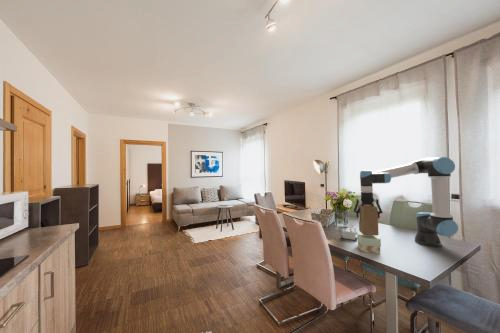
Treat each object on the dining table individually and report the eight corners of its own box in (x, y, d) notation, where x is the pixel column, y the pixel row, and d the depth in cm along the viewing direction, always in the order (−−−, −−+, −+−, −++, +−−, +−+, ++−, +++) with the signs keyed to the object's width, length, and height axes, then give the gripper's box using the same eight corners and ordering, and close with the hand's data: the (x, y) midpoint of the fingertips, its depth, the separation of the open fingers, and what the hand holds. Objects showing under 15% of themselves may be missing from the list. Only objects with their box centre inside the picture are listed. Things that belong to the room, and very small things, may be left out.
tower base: (376, 247, 150) (376, 240, 150) (380, 254, 138) (380, 246, 138) (358, 246, 154) (357, 239, 154) (360, 252, 143) (360, 245, 143)
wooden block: (379, 235, 140) (377, 207, 141) (363, 235, 142) (362, 206, 143) (373, 231, 150) (372, 204, 151) (358, 231, 152) (357, 204, 153)
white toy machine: (346, 222, 184) (361, 224, 176) (347, 233, 184) (361, 235, 176) (340, 227, 170) (355, 229, 163) (341, 239, 170) (356, 241, 163)
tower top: (375, 240, 150) (375, 233, 150) (380, 246, 139) (380, 239, 139) (357, 239, 154) (357, 233, 154) (361, 245, 142) (361, 238, 142)
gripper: (384, 191, 146) (385, 222, 146) (348, 191, 155) (349, 220, 154) (386, 192, 139) (388, 224, 139) (349, 192, 148) (350, 222, 147)
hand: (368, 222), depth 146 cm, fingers closed on wooden block, 11 cm apart
